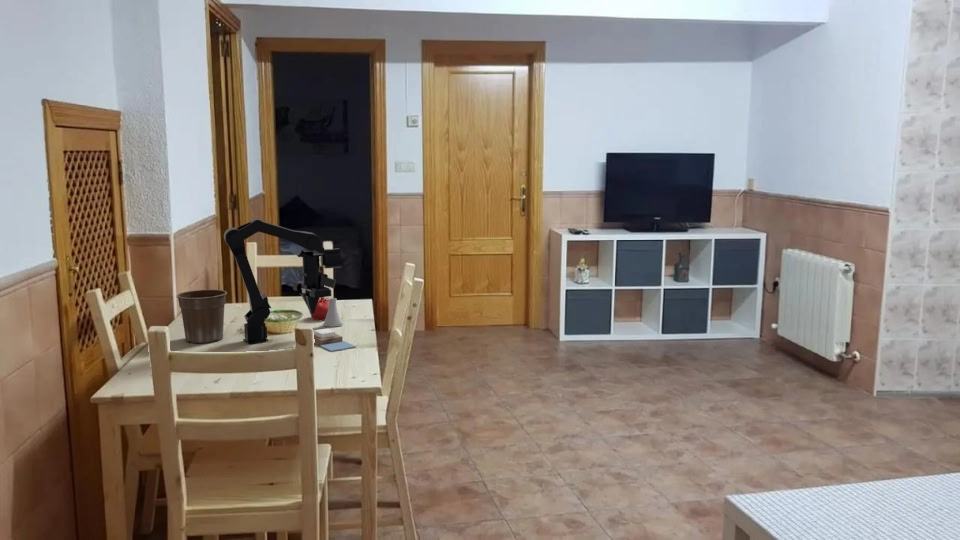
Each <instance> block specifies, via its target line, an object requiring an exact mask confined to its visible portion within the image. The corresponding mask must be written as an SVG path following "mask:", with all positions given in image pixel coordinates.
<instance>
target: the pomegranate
mask: <svg viewBox="0 0 960 540" xmlns="http://www.w3.org/2000/svg"><path fill="white" fill-rule="evenodd" d="M329 298H330V297H320V298H319V300H318V303H317V306H316V310H315V313H314V314H311V313H310V311H309V310H308V311H309V314H310V317H311V318H312V319H314V320H318V321H325V318H326V315H327V312H328V307H329V301H328V299H329Z"/></svg>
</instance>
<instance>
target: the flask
mask: <svg viewBox="0 0 960 540" xmlns="http://www.w3.org/2000/svg"><path fill="white" fill-rule="evenodd" d="M328 298H329V299H327V300H328V301H329V307H328V312H327V315H326V318H325V320H323V321H324V322H323V324H322V325H323V326H325V327H326V328H327V327H330V328H331V327H332V328H333V327H341V326H343V324H344V323H343V320H342V318H341V315H340V313H339V310H338V307H337V300H338V299H337V298H336V297H331V298H330V297H328Z"/></svg>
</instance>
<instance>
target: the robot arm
mask: <svg viewBox="0 0 960 540" xmlns="http://www.w3.org/2000/svg"><path fill="white" fill-rule="evenodd" d="M257 233H262V234H266V235H270V236H272V237H276V238H279V239H283V240H285V241H289V242H292V243H294V244H296V245H298V246H300V247H301V248H303V249H305V250H307V251H304V250H303V249H300V250H299V252H298V253H296V257H298V258H302V271H300V275H301V276H302V280H301V281H295V282H294V283H293V284H292V290H293V291H294V292H298V291H299V290H301V292H300V293H299V295H300V296H301V298H302V299H303V301H304V303H305V305H306V306H307V309H308V311H310V312H309V314H310V313H311V314H314V313H315V310H316V306H317V303H318V300H319V299H321V297H323V298H329V297H332V290H331V289H334V288H335V285H336V282H337V279H334V278H332V277H331V278H330V277H329V276H328V274H327V273H323V272H322V271H321V270H320V268H321V267H322V266H323V268H324V269H338V268H342V266H343V258H342V254H341V253H342V252H341V249H340V248H339V247H338V248H336V247H335V248H327V249H326V248H325V247H324V246H323V245H322V244H321V239H320V236H318V235H317V234H315V233H314V232H311V231H310V232H309V231H303V230H302V231H301V230H292V229H290V228H287V227H284V226H279V225H277V224H273V223H270V222H266V221H264V220H261V219H259V218H254V219H252V220H251V221H248V222H246V223H244V224H241V225H239V226H237V227H229V228H227V229H226V230H225V232H224V234H223V239H224V241H225V243H226V244H227V246H228V248H229V249H230V251H231V253H232V255H233V257H234V259H235V261H236V265H237V267H238V269H239V272H240V275H241V278H242V280H243V283H244V286H245V289H246V291H247V294H248V302H249V303H248V304H249V311H247V313H245V315H244V319H245V321H246V323H244V324H243V328H244V338H243V339H242V341H243V342H245V343H247V344H249V345H253V344H260V343H266V341H267V342H268V341H269V339H268V327H267V326H266V322H265V321H266V320H267V319H268V318H269V316H270V315H271V309H272V306H271V305H270V303H269V299H268V296H267V295H266V293H263V294H261V291H260V290H259V287H258V283H257V281H256V279H255V275H254V273H253V270H252V267H251V265H250V261H249V259H248V256H247V253H246V245H245V240H247V239H248V238H250V237H252V236H253V235H255V234H257ZM314 251H315V252H316V253H314ZM330 288H331V289H330ZM311 314H310V315H311Z"/></svg>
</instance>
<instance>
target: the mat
mask: <svg viewBox="0 0 960 540" xmlns="http://www.w3.org/2000/svg"><path fill="white" fill-rule="evenodd" d="M319 347H320V348H322V349H325V350H327V351H329V352H330V353H332V352H339V351H344V350H349V349H355V347H356V348H357V346H356V345H354V344H352V343H349V342H348V341H343V342H337V343H331V344H325V345H319Z"/></svg>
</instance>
